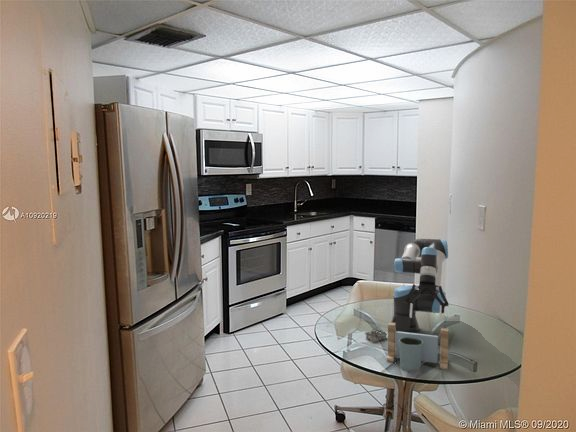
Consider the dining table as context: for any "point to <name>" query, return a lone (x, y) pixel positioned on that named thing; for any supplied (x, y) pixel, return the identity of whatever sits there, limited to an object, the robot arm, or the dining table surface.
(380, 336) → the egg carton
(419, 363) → the grey blue cup
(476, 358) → the dining table surface
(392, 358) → the door frame
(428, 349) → the door
